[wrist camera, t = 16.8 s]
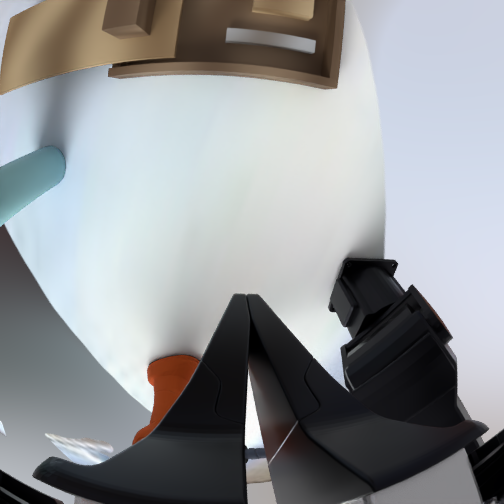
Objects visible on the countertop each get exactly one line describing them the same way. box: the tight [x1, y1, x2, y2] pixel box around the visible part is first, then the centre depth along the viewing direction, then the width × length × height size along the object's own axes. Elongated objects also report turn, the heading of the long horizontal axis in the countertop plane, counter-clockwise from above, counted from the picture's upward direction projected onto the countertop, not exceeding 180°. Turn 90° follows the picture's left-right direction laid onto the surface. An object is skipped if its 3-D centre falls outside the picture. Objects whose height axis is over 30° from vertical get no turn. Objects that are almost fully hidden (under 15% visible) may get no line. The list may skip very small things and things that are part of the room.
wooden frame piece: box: [108, 0, 345, 89], centre depth 13 cm, size 15×9×2 cm, turn 84°
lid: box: [0, 0, 184, 95], centre depth 9 cm, size 15×7×4 cm, turn 84°
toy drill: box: [132, 355, 266, 463], centre depth 24 cm, size 5×19×15 cm, turn 112°
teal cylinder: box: [0, 146, 66, 226], centre depth 12 cm, size 4×4×13 cm
